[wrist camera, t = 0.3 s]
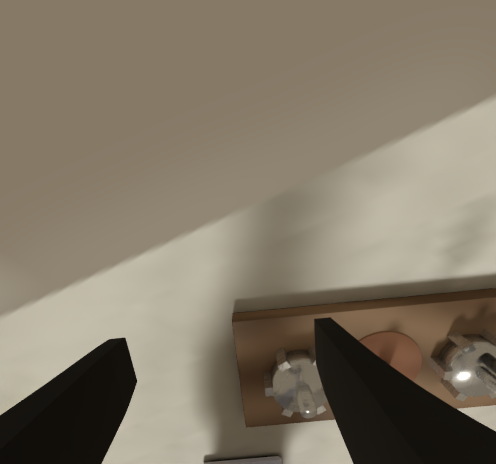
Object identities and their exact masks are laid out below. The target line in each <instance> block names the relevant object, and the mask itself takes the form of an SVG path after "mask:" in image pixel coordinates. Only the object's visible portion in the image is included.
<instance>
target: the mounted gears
mask: <svg viewBox="0 0 496 464" xmlns="http://www.w3.org/2000/svg"><path fill="white" fill-rule="evenodd" d="M447 337H448V339H449V342H448V343H447V344H446V345H445V346H444V347H443V348H442V349H441V351H440V353H439V355H438V356H436V357H430V364H429V365H430V366H431V367H432V368H433V369H434V370H435V371H436V372H437V373H438V374H439V376H440V377H441V378H442V381H441V382H440V383H441V384H442V385H443V386H444V387H445V388H446V389H447V390H448V391H449V392H450V393H451V394H452V395H453V397H454V398H455V399H458V400H460V401H463V402H464V400H465V399H466V398H467V397H468V396H473V397H478V396H484V395H488V396H489V397H490V398H491V399H493V398H495V397H496V334H494V333H493V332H491V331H489V330H487V329H483V330H482V331H481V332H480V335H479V334H465V335H461V334H459V333H458V332H457V331H455V332H453V333H451V334H449V335H447ZM275 354H276V361H275V363H274V364H273V366H272V369H271V372H263V374H264V384H265V395H266V396H273V395H274V398H275V400H276V401H277V403H278V404H279V405H280V408H281V414H282V415H285V416H288V417H291V415H292V414H293V412H300V413H301V416H302V417H304V418H307V419H309V418H313V417H315V416H316V414H318V415H319V414H320V413H322V412H324V411H326V407H325V403H326V402H327V398H326V396H325V393H324V390H323V386H322V383H321V380H320V377H319V373H318V370H317V366H316V356H315V346H314V345H310V347H309V348H308V350H293V351H290V352H287V351H286V350H285V349H284V347H282V348H281V349H279V350H277V351H276V352H275ZM385 362H386V363H388V362H387V361H385ZM388 364H389V363H388ZM389 365H390V364H389ZM390 366H391V365H390Z"/></svg>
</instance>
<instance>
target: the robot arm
mask: <svg viewBox="0 0 496 464" xmlns="http://www.w3.org/2000/svg"><path fill="white" fill-rule="evenodd" d="M314 330H315V356H316V366H317V370H318V373H319V377H320V380H321V383H322V386H323V390H324V393H325V396H326V398H327V400H328V403H329V405H330V408H331V410H332V413H333V415H334V418H335V420H336V422H337V425H338V427H339V430H340V432H341V434H342V437H343V439H344V442H345V444H346V447H347V449H348V451H349V454H350V456H351V459H352V461H353V463H354V464H496V432H495V431H494V430H492V429H490V428H488V427H487V426H485V425H483V424H481V423H479V422H478V421H476V420H474V419H472V418H471V417H469V416H467V415H466V414H464V413H462V412H461V411H459V410H457V409H455V408H454V407H452V406H451V405H449V404H447V403H446V402H444V401H443V400H441V399H440V398H438V397H436V396H435V395H433V394H432V393H430V392H428V391H427V390H425V389H424V388H422V387H421V386H419V385H418V384H416V383H415V382H413V381H412V380H410V379H409V378H407V377H406V376H405V375H403V374H402V373H400V372H399V371H398V370H396V369H395V368H393V367H392V366H390V365H389V364H388V363H386V362H385V361H384V360H382V359H381V358H380V357H378V356H377V355H376V354H375V353H373V352H372V351H371V350H369V349H368V348H367V347H366V346H364V345H363V344H362V343H361V342H359V341H358V340H357V339H356V338H355V337H353V336H352V335H351V334H350V333H349V332H347V331H346V330H345V329H344V328H343V327H341V326H340V325H339V324H338V323H337V322H335V321H334V320H333V319H332V318H331V317H328V318H318V319H314ZM136 383H137V379H136V375H135V371H134V368H133V364H132V360H131V357H130V353H129V350H128V346H127V342H126V339H125V338H117V339H109V340H108V341H106V342H104V343H103V344H101V345H100V346H98V347H97V348H95V349H94V350H92V351H91V352H90V353H88V354H87V355H85V356H84V357H83V358H81V359H80V360H78V361H77V362H76V363H74V364H73V365H72V366H70V367H69V368H67V369H66V370H65V371H63V372H62V373H60V374H59V375H58V376H56V377H55V378H54V379H52V380H51V381H49V382H48V383H47V384H45V385H44V386H42V387H41V388H39V389H38V390H37V391H35V392H34V393H32V394H31V395H29V396H28V397H26V398H25V399H23V400H22V401H21V402H19V403H18V404H16V405H15V406H13V407H12V408H10V409H9V410H7V411H6V412H5V413H3V414H2V415H0V464H101V463H102V461H103V459H104V457H105V455H106V453H107V451H108V449H109V447H110V445H111V443H112V441H113V439H114V437H115V435H116V433H117V431H118V428H119V426H120V424H121V422H122V420H123V418H124V416H125V414H126V411H127V409H128V406H129V403H130V401H131V398H132V395H133V392H134V389H135V386H136ZM204 464H282V459H281V458H280V457H279V456H272V457H261V458H249V459H238V460H227V461H215V462H206V463H204Z"/></svg>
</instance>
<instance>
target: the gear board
mask: <svg viewBox="0 0 496 464" xmlns="http://www.w3.org/2000/svg"><path fill="white" fill-rule="evenodd" d="M328 317H331V318H332V319H333V320H334V321H335V322H337V323H338V324H339V325H340V326H341V327H343V328H344V329H345V330H346V331H347V332H349V333H350V334H351V335H352V336H353V337H355V338H356V339H357V340H358V341H359V342H361V343H362V344H363V345H364V346H366V347H367V348H368V349H369V350H371V351H372V352H373V353H375V354H376V355H377V356H378V357H380V358H381V359H382V360H384V361H387V362H388V363H389V364H390V365H391V366H392V367H393V368H395V369H396V370H398V371H399V372H400V373H402V374H403V375H405V376H406V377H407V378H409V379H410V380H412V381H413V382H415V383H416V384H418V385H419V386H421V387H422V388H424V389H425V390H427V391H428V392H430V393H432V394H433V395H435V396H436V397H438V398H440V399H441V400H443V401H444V402H446V403H447V404H449V405H451V406H452V407H454V408H455V409H457V408H468V407H479V406H490V405H496V397H495V398H493V399H491V398H490V397H489V396H488V395H484V396H478V397H473V396H468V397H467V398H466V399H465V400H464V402H463V401H460V400H458V399H455V398H454V397H453V395H452V394H451V393H450V392H449V391H448V390H447V389H446V388H445V387H444V386H443V385H442V384H441V383H440V382H441V381H442V378H441V377H440V376H439V374H438V373H437V372H436V371H435V370H434V369H433V368H432V367H431V366H430V365H429V364H430V357H436V356H438V355H439V353H440V351H441V349H442V348H443V347H444V346H445V345H446V344H447V343H448V342H449V339H448V337H447V335H449V334H451V333H453V332H455V331H457V332H458V333H459V334H461V335H465V334H479V335H480V332H481V331H482V330H483V329H487V330H489V331H491V332H493V333H494V334H496V288H494V289H483V290H473V291H462V292H452V293H441V294H431V295H420V296H410V297H399V298H389V299H378V300H368V301H357V302H347V303H336V304H326V305H315V306H305V307H294V308H284V309H273V310H263V311H252V312H242V313H233V319H232V325H233V332H234V340H235V347H236V355H237V362H238V370H239V377H240V385H241V392H242V400H243V407H244V415H245V422H246V427H256V426H267V425H278V424H289V423H300V422H312V421H323V420H334V419H335V418H334V415H333V413H332V410H331V408H330V405H329V403H328V400H327V402H326V403H325V407H326V411H324V412H322V413H320V414H319V415H318V414H316V416H315V417H313V418H309V419H307V418H304V417H302V416H301V413H300V412H293V414H292V415H291V417H288V416H285V415H282V414H281V408H280V405H279V404H278V403H277V401H276V400H275V398H274V395H273V396H266V395H265V384H264V374H263V372H271V369H272V366H273V364H274V363H275V361H276V354H275V352H276V351H277V350H279V349H281V348H282V347H284V349H285V350H286V351H287V352H290V351H293V350H308V348H309V347H310V345H314V346H315V330H314V319H318V318H328Z"/></svg>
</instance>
